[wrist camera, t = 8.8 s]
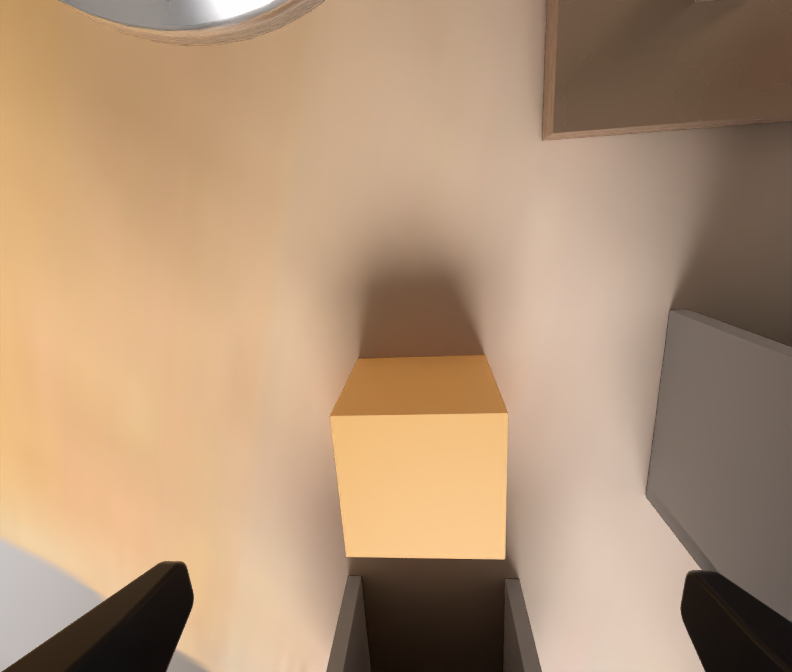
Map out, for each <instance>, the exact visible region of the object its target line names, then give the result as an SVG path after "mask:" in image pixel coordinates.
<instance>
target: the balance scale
mask: <svg viewBox="0 0 792 672" xmlns="http://www.w3.org/2000/svg"><path fill="white" fill-rule="evenodd" d="M59 1H60V2H62V3H64V4H65V5H67V6H69V7H71V8H72V9H74V10H76V11H78V12H79V13H81V14H83V15H84V16H86V17H88V18H90V19H92V20H94V21H96V22H98V23H101V24H103V25H105V26H107V27H110V28H112V29H114V30H116V31H119V32H121V33H124V34H128V35H131V36H135V37H138V38H142V39H145V40H149V41H152V42H158V43H166V44H174V45H182V46H204V45H221V44H226V43H232V42H237V41H242V40H247V39H251V38H254V37H257V36H259V35H262V34H265V33H268V32H271V31H273V30H276V29H279V28H281V27H283V26H285V25H287V24H289V23H290V22H292V21H294V20H296V19H298V18H300V17H301V16H303V15H305V14H307V13H309V12H311V11H312V10H313V9H315V8H316V7H317V6H319V5H320V4H321V3H323V2H324V1H325V0H59ZM784 121H792V0H547V15H546V43H545V71H544V100H543V128H542V141H543V140H556V139H568V138H581V137H594V136H607V135H619V134H632V133H645V132H657V131H670V130H683V129H695V128H708V127H721V126H734V125H746V124H759V123H772V122H784Z"/></svg>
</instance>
